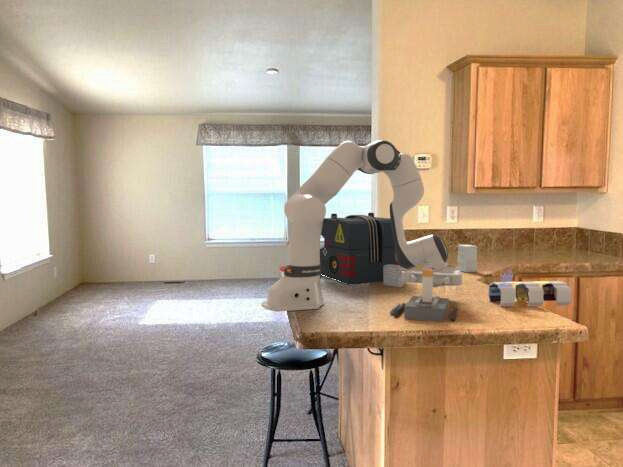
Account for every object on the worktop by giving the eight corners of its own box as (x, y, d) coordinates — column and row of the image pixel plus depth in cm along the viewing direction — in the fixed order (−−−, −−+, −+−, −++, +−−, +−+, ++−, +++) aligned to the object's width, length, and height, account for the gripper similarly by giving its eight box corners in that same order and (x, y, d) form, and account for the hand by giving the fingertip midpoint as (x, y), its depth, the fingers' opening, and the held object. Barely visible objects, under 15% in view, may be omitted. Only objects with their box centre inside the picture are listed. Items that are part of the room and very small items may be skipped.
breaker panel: (443, 321, 149) (444, 305, 149) (404, 318, 154) (404, 302, 153) (448, 310, 164) (448, 295, 164) (412, 307, 168) (412, 293, 168)
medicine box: (404, 286, 207) (404, 265, 207) (398, 287, 204) (398, 267, 203) (388, 283, 213) (389, 264, 212) (382, 285, 209) (383, 265, 209)
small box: (476, 272, 243) (477, 246, 242) (465, 272, 241) (465, 246, 240) (468, 269, 251) (468, 244, 250) (457, 270, 249) (457, 244, 248)
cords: (454, 322, 148) (454, 317, 148) (387, 316, 156) (387, 312, 156) (458, 310, 163) (458, 306, 163) (397, 305, 170) (397, 301, 170)
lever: (431, 302, 156) (432, 270, 156) (421, 301, 158) (422, 270, 157) (433, 300, 159) (433, 269, 159) (423, 299, 161) (423, 268, 160)
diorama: (500, 308, 168) (501, 270, 167) (488, 301, 178) (488, 266, 177) (570, 307, 169) (572, 269, 168) (554, 300, 180) (555, 265, 179)
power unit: (401, 280, 222) (401, 214, 219) (348, 285, 210) (348, 215, 207) (367, 271, 247) (368, 212, 244) (319, 275, 235) (319, 213, 232)
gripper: (404, 264, 177) (397, 269, 165) (463, 267, 170) (460, 273, 157) (404, 281, 178) (397, 288, 165) (463, 285, 171) (460, 292, 158)
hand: (428, 280), depth 161 cm, fingers open, 8 cm apart
